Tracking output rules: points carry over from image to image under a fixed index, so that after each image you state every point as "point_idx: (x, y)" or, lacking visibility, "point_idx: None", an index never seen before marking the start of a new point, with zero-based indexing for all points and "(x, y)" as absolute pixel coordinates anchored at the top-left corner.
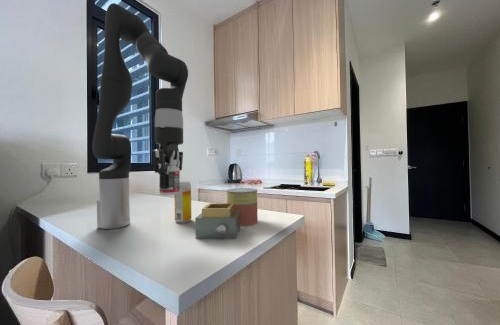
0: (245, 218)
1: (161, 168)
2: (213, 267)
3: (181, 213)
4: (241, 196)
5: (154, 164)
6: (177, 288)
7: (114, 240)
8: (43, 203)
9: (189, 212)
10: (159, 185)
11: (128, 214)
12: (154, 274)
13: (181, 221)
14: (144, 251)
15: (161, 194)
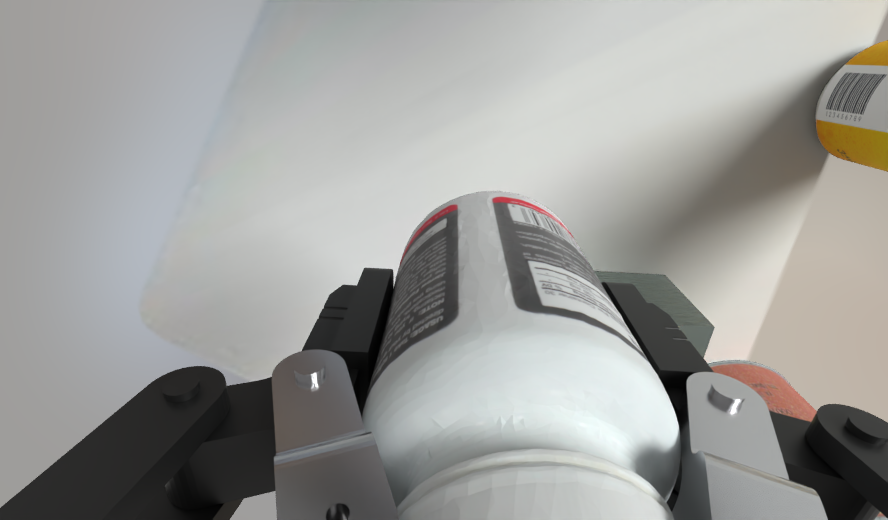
0: None
1: (170, 492)
2: (265, 372)
3: (862, 118)
4: None
5: (46, 482)
6: (145, 313)
7: None
8: None
9: (878, 168)
10: (447, 230)
11: None
12: (191, 226)
13: (818, 108)
14: (357, 90)
15: (414, 231)
